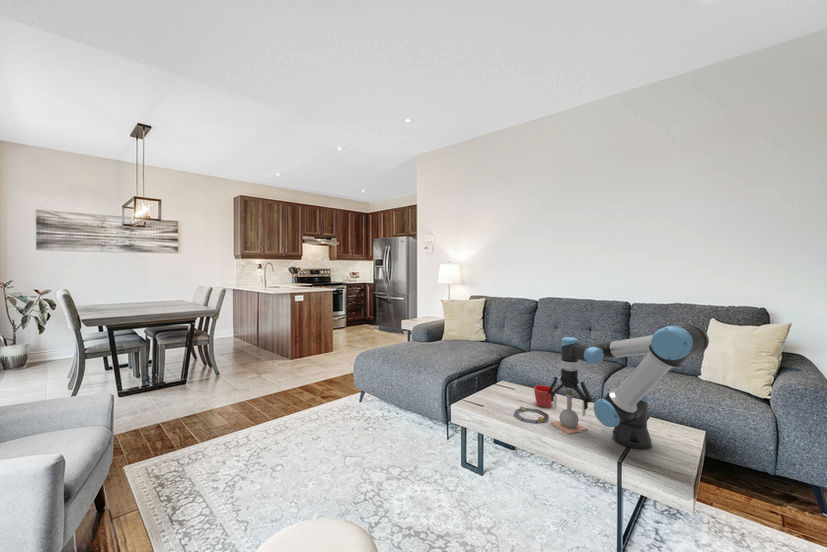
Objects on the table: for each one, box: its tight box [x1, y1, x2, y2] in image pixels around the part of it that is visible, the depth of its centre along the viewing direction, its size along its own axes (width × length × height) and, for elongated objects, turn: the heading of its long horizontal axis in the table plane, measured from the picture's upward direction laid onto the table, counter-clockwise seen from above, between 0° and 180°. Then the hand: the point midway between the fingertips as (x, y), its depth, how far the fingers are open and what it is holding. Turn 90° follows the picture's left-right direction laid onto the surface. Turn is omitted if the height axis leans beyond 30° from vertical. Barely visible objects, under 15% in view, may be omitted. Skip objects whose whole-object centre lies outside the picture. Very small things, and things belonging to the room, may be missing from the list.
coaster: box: [550, 420, 589, 435], centre depth 175 cm, size 12×12×1 cm
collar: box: [513, 405, 550, 425], centre depth 187 cm, size 17×17×2 cm
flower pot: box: [533, 385, 555, 409], centre depth 203 cm, size 11×11×10 cm
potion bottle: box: [558, 388, 579, 429], centre depth 174 cm, size 9×9×18 cm
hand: (569, 411), depth 174 cm, fingers open, 13 cm apart
